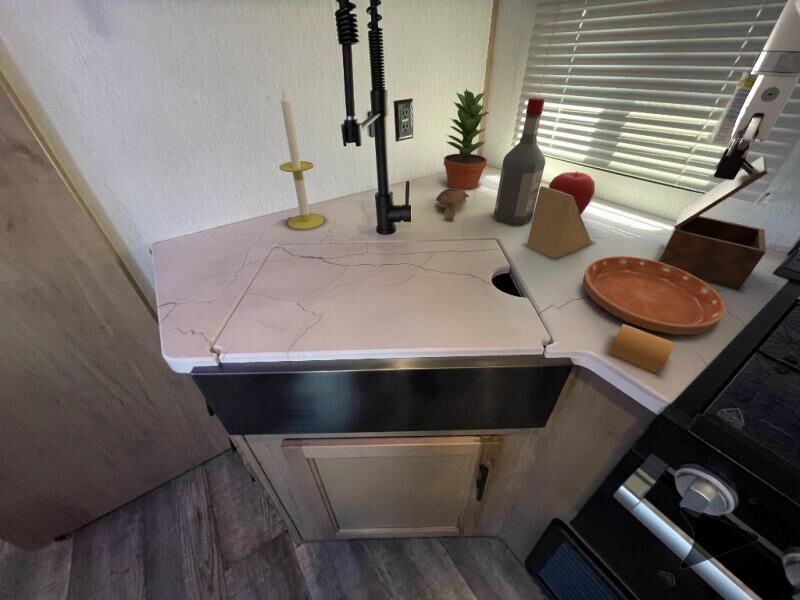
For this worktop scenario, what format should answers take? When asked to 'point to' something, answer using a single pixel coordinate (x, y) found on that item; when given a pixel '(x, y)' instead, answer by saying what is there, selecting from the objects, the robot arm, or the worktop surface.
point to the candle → (297, 173)
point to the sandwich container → (556, 224)
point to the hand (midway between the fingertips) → (724, 173)
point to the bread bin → (715, 250)
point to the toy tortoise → (451, 201)
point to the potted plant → (466, 145)
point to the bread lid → (723, 191)
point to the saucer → (653, 295)
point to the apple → (575, 187)
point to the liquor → (521, 172)
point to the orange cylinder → (641, 348)
